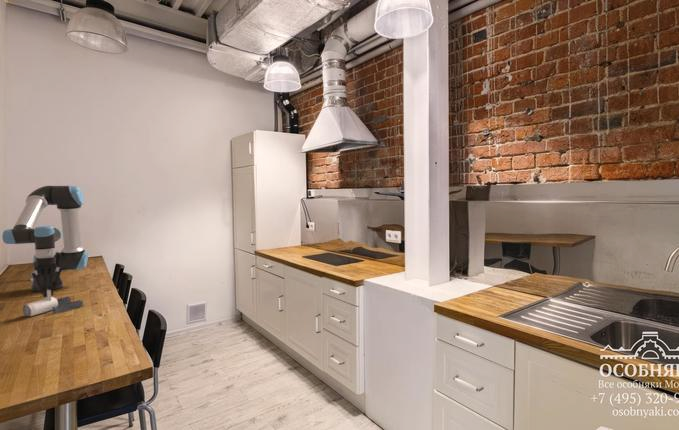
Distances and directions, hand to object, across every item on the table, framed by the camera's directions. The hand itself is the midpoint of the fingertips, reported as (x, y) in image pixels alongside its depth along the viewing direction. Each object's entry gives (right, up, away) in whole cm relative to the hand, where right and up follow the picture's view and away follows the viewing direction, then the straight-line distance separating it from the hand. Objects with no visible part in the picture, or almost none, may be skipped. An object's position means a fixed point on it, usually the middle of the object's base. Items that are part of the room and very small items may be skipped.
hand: (48, 302), depth 169 cm
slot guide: (+2, -4, +6) cm, 7 cm away
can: (0, -1, +4) cm, 4 cm away
